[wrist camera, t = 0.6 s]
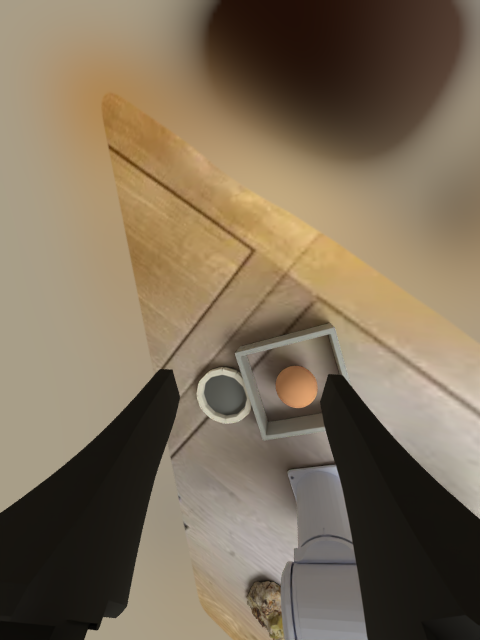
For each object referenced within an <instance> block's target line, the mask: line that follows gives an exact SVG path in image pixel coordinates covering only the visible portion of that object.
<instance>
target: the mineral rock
mask: <svg viewBox="0 0 480 640" xmlns="http://www.w3.org/2000/svg"><path fill="white" fill-rule="evenodd" d="M247 600H248V601H247V604H248V605H249V606H250V608H251V610H252V613H253V615H254V616H255V617H256V619H258V621H259V623H260V624H261V625H262V627H264V628H265V630H267V631H268V632H269V634H270V637H271V638H273V640H285V637H284V631H283V623H282V611H281V588H280V586H279V585H277V584H276V583H275V582H271V583H270V582H269V581H266V582H262V583H261V582H258V581H257V582H255V583H254V586H252V588H251V590H250V593H249V594H248V597H247Z"/></svg>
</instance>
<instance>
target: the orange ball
mask: <svg viewBox="0 0 480 640" xmlns="http://www.w3.org/2000/svg"><path fill="white" fill-rule="evenodd" d="M276 391H277V394H278V396H279V398H280V399H281V400H282V401H283V402H284V403H285V404H286V405H288V406H290V407H294V408H302V407H305V406H307V405H309V404H311V403H312V402H313V400H314V399H315V397H316V395H317V382H316V379H315V377H314V376H313V374H312V373H311V372H310V371H309V370H307V369H306V368H304V367H301V366H290V367H287V368H285V369H284V370H282V371H281V372H280V374H279V375H278V377H277V380H276Z"/></svg>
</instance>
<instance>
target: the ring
mask: <svg viewBox="0 0 480 640" xmlns="http://www.w3.org/2000/svg"><path fill="white" fill-rule="evenodd" d="M196 395H197V399H198V402H199V405H200V408H202V411H203V412H204V413H205V414H206V415H207V416H209V417H210V418H211V419H212V418H213V420H214V421H217V422H221V423H224V424H225V423H226V424H230V423H235V422H239V421H241V420H242V419H243V418H244V417H245V416H246V415H248V414H249V412H250V410H251V406H252V405H251V402H250V399H249V396H248V393H247V390H246V387H245V383H244V380H243V377H242V374H241V372H240V371H238V370H236V369H233V368H230V367H217V368H214V369H212V370H210V371H209V372H208V373H207V374H206V375H205V376H204V377H203V378H202V379H201V380H200V381H199V383H198V389H197V394H196Z"/></svg>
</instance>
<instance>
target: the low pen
mask: <svg viewBox="0 0 480 640" xmlns="http://www.w3.org/2000/svg"><path fill="white" fill-rule="evenodd" d="M324 335H329V339H330V342H331V346H332V350H333V353H334V357H335V360H336V364H337V367H338V371H339V374H340V375H343V376H344V377H345V379H346V380H347V381H348V383H349V384H350V380H349V377H348V373H347V370H346V366H345V362H344V359H343V355H342V352H341V348H340V345H339V341H338V338H337V334H336V330H335V327H334V326H333V325H332V324H331V323H328V324H324V325H320V326H316V327H313V328H309V329H305V330H301V331H297V332H294V333H290V334H286V335H282V336H279V337H275V338H271V339H267V340H263V341H260V342H256V343H252V344H248V345H244V346H241V347H239V348H238V350H237V351H236V352H235V356H236V359H237V362H238V365H239V368H240V371H241V374H242V377H243V380H244V383H245V387H246V390H247V393H248V396H249V399H250V402H251V405H252V408H253V411H254V414H255V417H256V420H257V423H258V426H259V429H260V432H261V436H262V439H263V441H264V440H271V439H277V438H284V437H291V436H297V435H304V434H310V433H317V432H324V431H326V430H325V426H324V422H323V416H322V413H319V414H314V415H308V416H302V417H296V418H290V419H284V420H278V421H272V422H268V420H267V417H266V413H265V410H264V407H263V404H262V401H261V398H260V395H259V392H258V389H257V385H256V382H255V379H254V376H253V373H252V370H251V367H250V364H249V361H248V357H247V355H249V354H253V353H257V352H261V351H264V350H268V349H272V348H276V347H280V346H284V345H288V344H292V343H296V342H300V341H304V340H308V339H312V338H316V337H320V336H324ZM350 385H351V384H350Z"/></svg>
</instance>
